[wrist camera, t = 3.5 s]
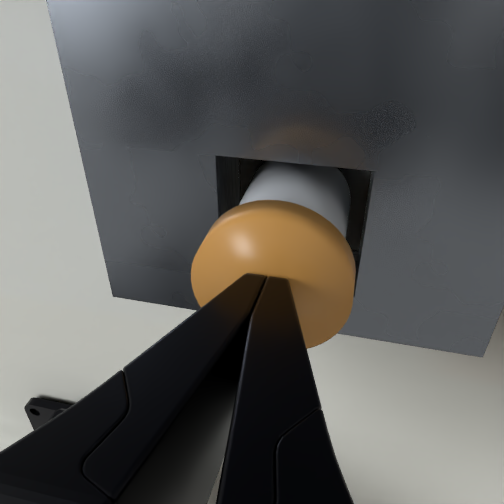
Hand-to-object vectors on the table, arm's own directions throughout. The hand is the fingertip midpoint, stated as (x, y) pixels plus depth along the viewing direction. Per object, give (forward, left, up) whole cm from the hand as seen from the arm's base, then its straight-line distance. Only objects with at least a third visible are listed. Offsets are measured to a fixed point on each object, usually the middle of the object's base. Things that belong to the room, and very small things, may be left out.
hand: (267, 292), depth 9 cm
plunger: (0, 0, -4) cm, 4 cm away
